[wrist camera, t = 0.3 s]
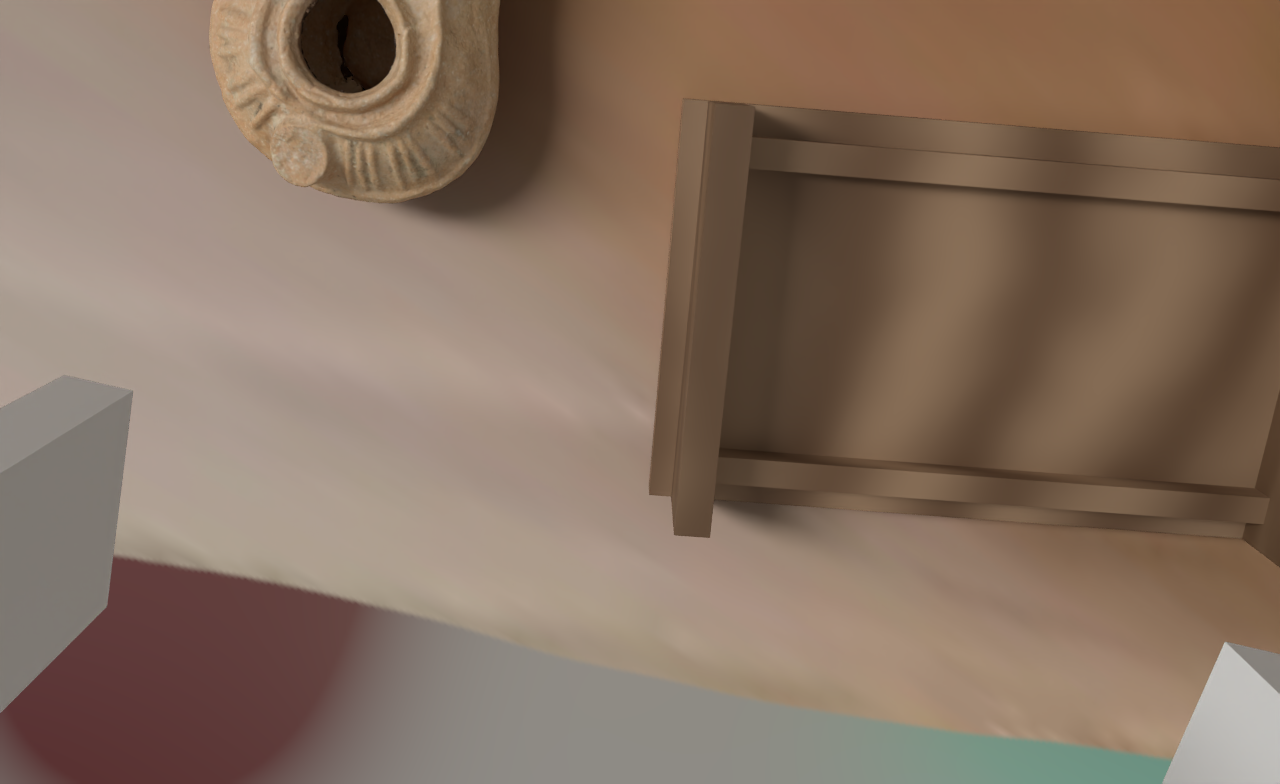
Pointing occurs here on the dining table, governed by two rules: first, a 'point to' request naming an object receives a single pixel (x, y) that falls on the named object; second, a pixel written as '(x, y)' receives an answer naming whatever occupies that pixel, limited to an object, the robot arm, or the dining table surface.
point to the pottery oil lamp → (344, 115)
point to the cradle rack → (970, 324)
